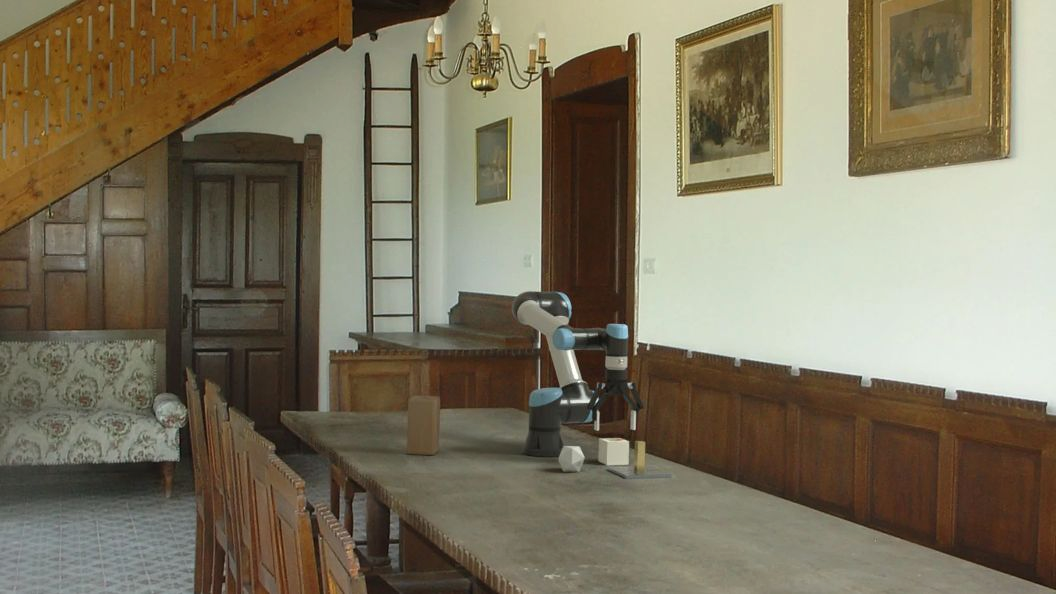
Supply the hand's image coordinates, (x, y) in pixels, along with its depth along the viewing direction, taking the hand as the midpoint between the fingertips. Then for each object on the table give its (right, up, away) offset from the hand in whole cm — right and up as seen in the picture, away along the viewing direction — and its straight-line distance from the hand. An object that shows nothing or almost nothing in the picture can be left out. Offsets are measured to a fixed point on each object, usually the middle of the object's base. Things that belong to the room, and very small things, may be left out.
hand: (614, 429), depth 381 cm
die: (-16, -12, -17) cm, 26 cm away
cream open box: (-1, -12, +1) cm, 12 cm away
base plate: (+7, -12, -18) cm, 23 cm away
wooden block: (-67, -10, +9) cm, 69 cm away
